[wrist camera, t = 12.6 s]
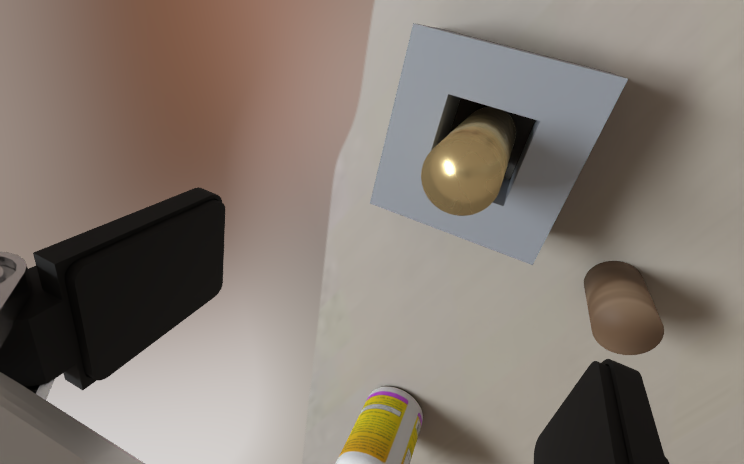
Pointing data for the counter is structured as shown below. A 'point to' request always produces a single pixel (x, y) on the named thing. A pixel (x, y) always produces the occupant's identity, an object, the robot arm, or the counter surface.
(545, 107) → the socket block
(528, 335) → the counter surface
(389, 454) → the supplement bottle
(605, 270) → the short peg
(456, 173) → the tall peg
